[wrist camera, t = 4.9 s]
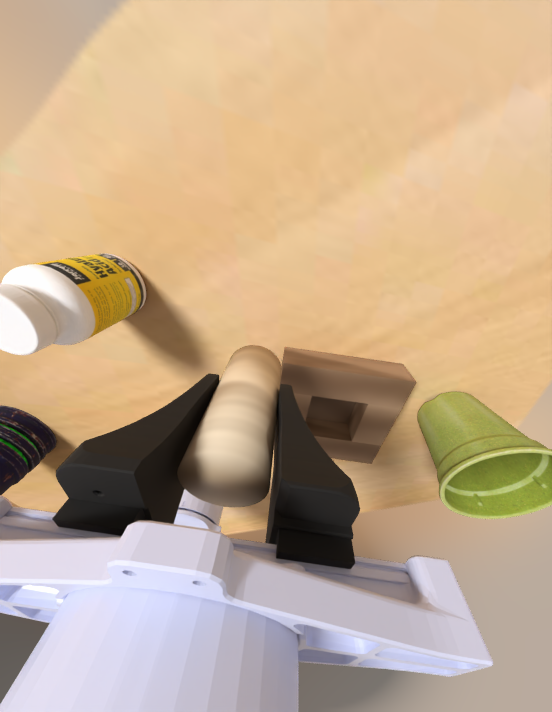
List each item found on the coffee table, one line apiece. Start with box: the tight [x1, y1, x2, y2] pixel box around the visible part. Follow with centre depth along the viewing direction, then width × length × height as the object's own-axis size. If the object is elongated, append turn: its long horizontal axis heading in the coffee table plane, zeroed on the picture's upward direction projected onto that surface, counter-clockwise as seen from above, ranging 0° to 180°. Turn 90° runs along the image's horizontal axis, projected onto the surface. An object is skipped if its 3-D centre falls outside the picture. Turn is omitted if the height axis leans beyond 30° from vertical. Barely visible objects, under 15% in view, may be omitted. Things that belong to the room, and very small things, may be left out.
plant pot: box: [417, 392, 552, 519], centre depth 22 cm, size 9×9×9 cm
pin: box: [177, 345, 281, 507], centre depth 12 cm, size 4×4×8 cm
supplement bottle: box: [0, 254, 146, 355], centre depth 17 cm, size 5×5×10 cm
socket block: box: [273, 347, 416, 464], centre depth 25 cm, size 12×12×3 cm
